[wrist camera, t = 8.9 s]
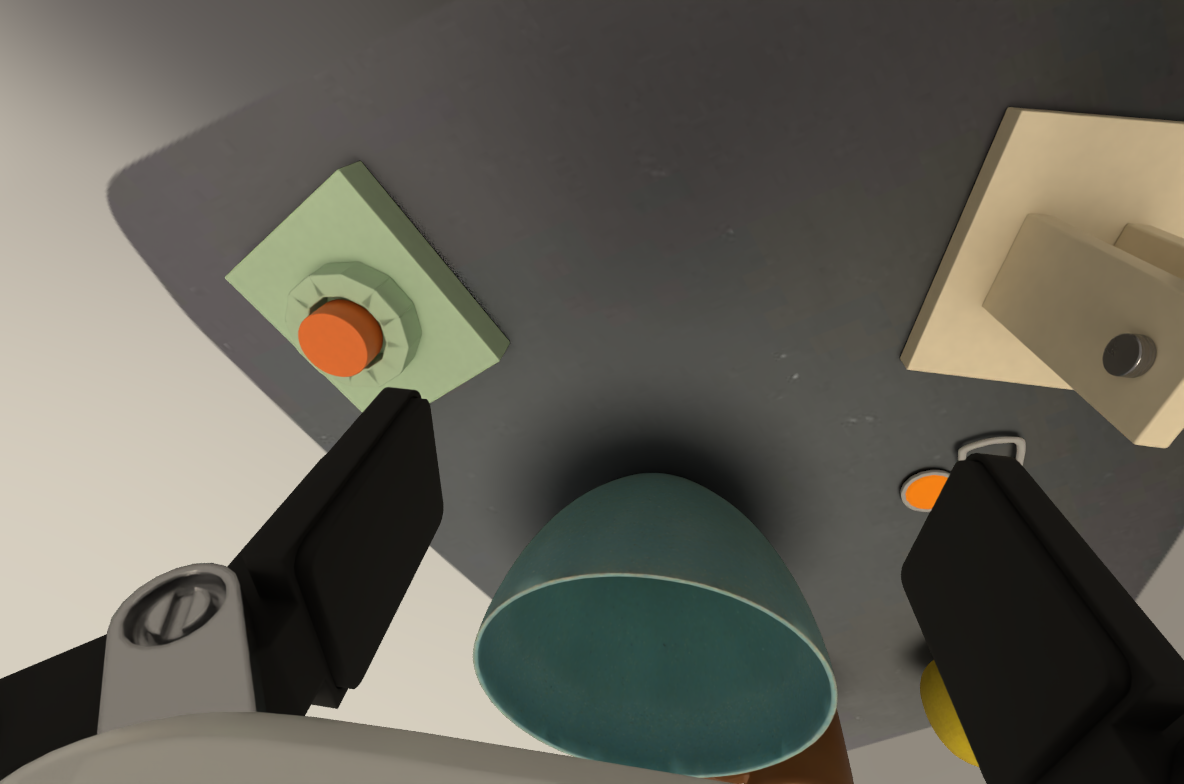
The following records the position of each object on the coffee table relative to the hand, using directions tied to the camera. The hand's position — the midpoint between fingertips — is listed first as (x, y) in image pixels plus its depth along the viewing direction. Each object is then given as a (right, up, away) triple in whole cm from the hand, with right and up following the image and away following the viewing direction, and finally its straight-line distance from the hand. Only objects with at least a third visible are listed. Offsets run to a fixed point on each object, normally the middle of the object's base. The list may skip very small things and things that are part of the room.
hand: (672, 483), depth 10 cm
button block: (-14, +7, +22) cm, 27 cm away
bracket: (+20, +8, +15) cm, 26 cm away
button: (-14, +5, +19) cm, 24 cm away
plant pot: (+3, -7, +28) cm, 29 cm away
